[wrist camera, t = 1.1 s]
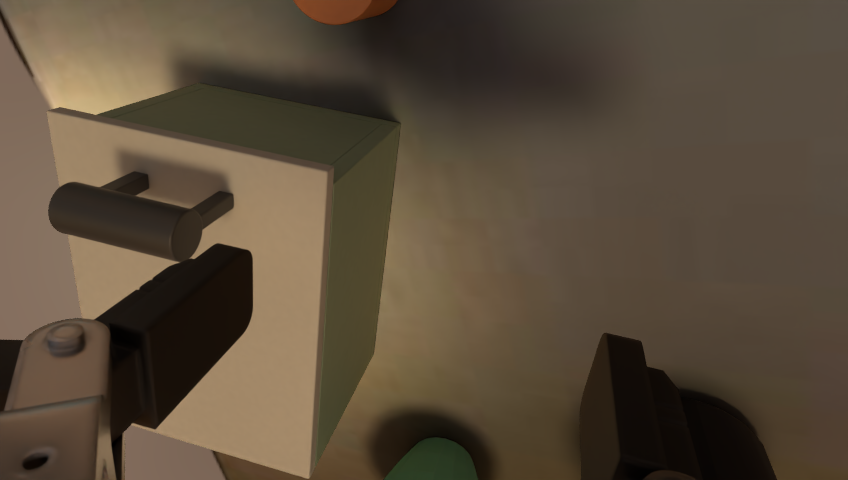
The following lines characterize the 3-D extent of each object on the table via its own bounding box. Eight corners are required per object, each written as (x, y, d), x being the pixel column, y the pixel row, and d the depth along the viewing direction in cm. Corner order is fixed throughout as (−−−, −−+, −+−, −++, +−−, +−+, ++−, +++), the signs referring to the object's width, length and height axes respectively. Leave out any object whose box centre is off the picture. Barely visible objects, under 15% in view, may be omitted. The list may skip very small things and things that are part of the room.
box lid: (59, 106, 25) (-58, 138, 20) (334, 165, 23) (274, 215, 18) (108, 406, 33) (31, 478, 28) (315, 468, 31) (269, 556, 26)
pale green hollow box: (198, 82, 34) (63, 123, 25) (401, 123, 33) (334, 183, 23) (209, 310, 42) (108, 405, 33) (373, 354, 40) (315, 467, 31)
